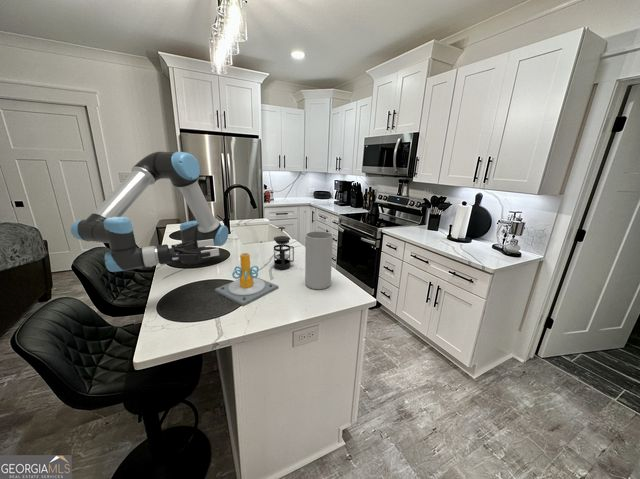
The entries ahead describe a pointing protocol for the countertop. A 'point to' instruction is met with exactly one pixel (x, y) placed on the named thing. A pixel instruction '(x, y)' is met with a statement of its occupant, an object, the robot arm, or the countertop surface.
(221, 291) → the grey plate with disc
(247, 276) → the orange ringed tube
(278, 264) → the french press
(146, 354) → the countertop surface
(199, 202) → the robot arm
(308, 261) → the cylinder vase
